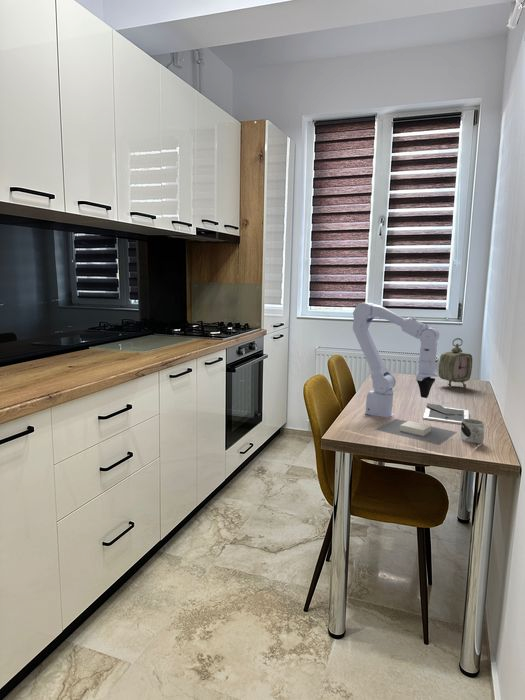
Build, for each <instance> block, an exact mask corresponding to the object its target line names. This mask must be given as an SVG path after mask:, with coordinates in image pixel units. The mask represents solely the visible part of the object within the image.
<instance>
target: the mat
mask: <svg viewBox="0 0 525 700" xmlns="http://www.w3.org/2000/svg"><path fill="white" fill-rule="evenodd" d="M407 421H408V420H403V419H398V418H395V419H393V420H390V421H388V422H386V423H385V424H383V425H380V426H379V427H377V428H374V430H376V431H379V432H383V433H388V434H392V435H396V436H401V437H404V438H409V439H414V440H417V441H422V442H426V443H430V444H435V445H438V446H439V445H441V444H443V443H445V442H446V441H447V440H448V439H450V438H451V437H453V436H454V435H455V434H458V432H457V431H454V430H450V429H445V428H440V427H436V426H431V431H430V432H429V433H427V434H426V435H424V436H421V435H416V434H412V433H408V432H403V431H400V425H401V424H403V423H405V422H407Z"/></svg>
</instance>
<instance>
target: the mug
mask: <svg viewBox="0 0 525 700" xmlns="http://www.w3.org/2000/svg"><path fill="white" fill-rule="evenodd" d="M460 426H461V427H460V434H459V435H460V436H459V438H460V440H462V441H464V442H468V443H474V444H477V445H482V444H483V443H484V438H485V432H484V427H485V422H484V421H482V420H478V419H475V418H474V419H473V418H469V419H462V424H460ZM483 445H484V444H483Z"/></svg>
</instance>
